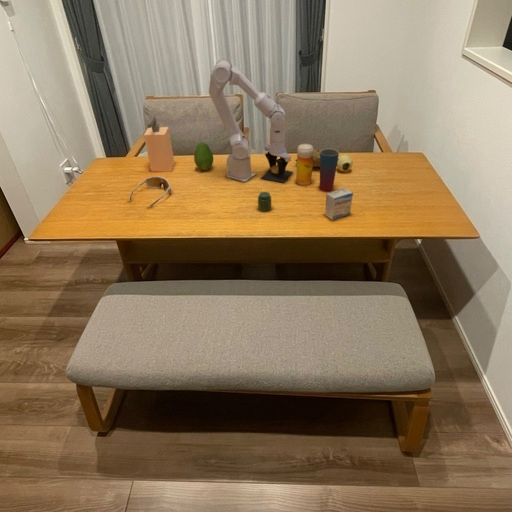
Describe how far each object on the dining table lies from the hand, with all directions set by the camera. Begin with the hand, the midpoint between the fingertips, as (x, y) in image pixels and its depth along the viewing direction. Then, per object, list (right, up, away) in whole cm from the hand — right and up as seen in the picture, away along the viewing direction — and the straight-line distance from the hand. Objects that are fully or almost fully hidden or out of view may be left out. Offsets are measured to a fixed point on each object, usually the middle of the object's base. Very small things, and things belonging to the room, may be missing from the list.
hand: (277, 172), depth 159 cm
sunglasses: (-49, -11, -9) cm, 51 cm away
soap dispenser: (-50, +3, +9) cm, 51 cm away
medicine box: (+20, -20, -23) cm, 37 cm away
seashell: (+16, +4, +7) cm, 18 cm away
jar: (-6, -17, -19) cm, 26 cm away
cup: (+19, -8, -8) cm, 22 cm away
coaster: (0, -1, +1) cm, 2 cm away
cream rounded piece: (+28, +1, +3) cm, 28 cm away
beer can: (+10, -5, -4) cm, 12 cm away
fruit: (-31, +3, +8) cm, 32 cm away
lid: (0, +1, -1) cm, 2 cm away
